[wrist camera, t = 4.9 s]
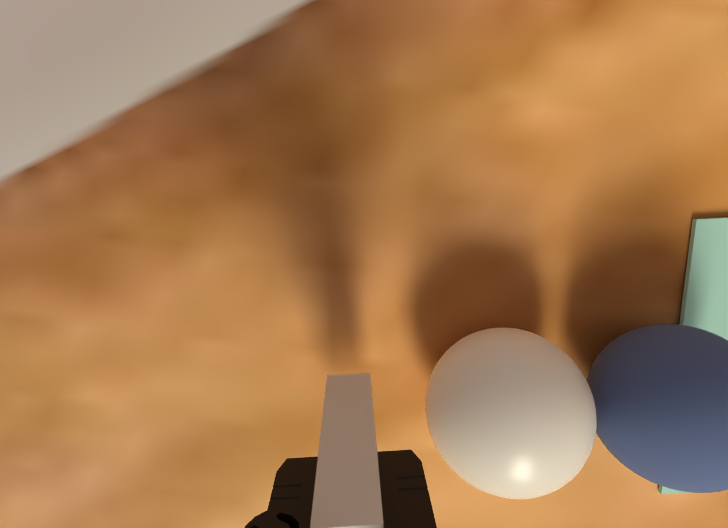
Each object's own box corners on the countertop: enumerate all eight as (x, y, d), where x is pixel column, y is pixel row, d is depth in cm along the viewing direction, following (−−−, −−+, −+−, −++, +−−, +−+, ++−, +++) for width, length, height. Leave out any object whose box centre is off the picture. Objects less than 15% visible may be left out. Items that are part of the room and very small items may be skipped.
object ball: (555, 431, 19) (638, 540, 13) (563, 307, 17) (659, 372, 12) (683, 423, 19) (818, 528, 13) (700, 299, 18) (856, 361, 12)
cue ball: (603, 563, 12) (588, 443, 17) (609, 381, 11) (591, 309, 16) (412, 518, 14) (447, 423, 19) (399, 362, 13) (440, 303, 18)
